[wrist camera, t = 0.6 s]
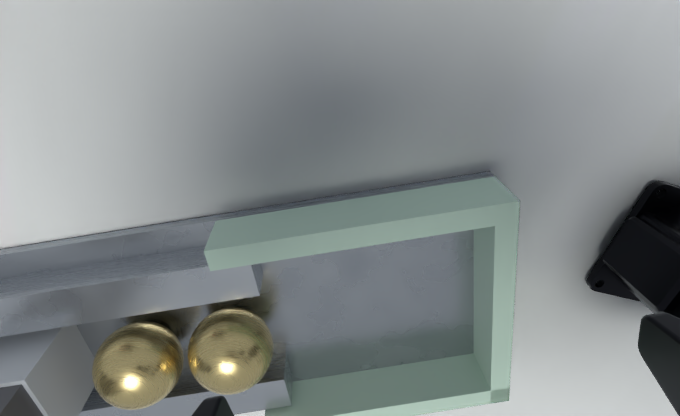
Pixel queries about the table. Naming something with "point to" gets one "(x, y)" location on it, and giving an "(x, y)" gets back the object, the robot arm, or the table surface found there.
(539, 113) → the table surface
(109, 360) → the brass sphere
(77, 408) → the tall gray pillar
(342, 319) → the slot rail
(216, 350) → the gold ball
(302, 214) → the tray
